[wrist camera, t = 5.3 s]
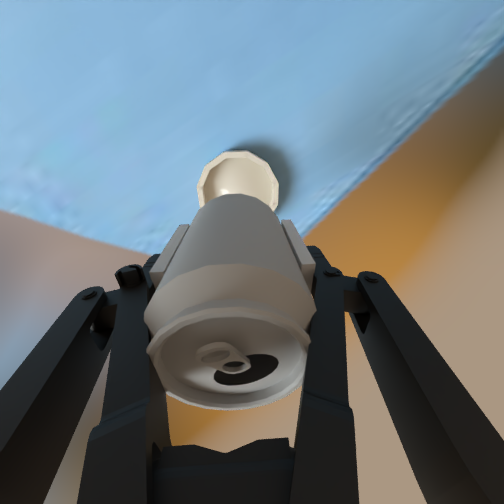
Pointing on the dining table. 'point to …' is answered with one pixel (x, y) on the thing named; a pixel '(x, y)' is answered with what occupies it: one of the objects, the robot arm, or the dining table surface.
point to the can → (231, 310)
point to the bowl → (238, 178)
